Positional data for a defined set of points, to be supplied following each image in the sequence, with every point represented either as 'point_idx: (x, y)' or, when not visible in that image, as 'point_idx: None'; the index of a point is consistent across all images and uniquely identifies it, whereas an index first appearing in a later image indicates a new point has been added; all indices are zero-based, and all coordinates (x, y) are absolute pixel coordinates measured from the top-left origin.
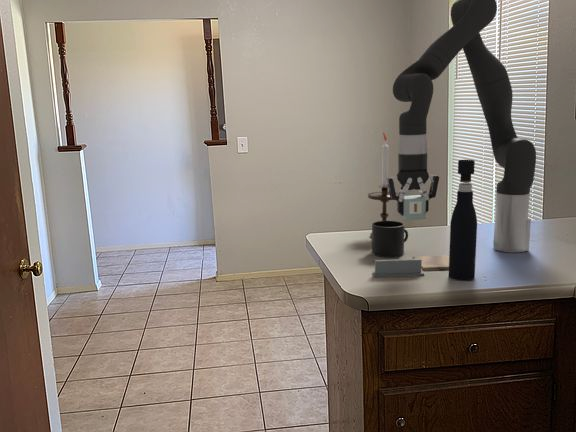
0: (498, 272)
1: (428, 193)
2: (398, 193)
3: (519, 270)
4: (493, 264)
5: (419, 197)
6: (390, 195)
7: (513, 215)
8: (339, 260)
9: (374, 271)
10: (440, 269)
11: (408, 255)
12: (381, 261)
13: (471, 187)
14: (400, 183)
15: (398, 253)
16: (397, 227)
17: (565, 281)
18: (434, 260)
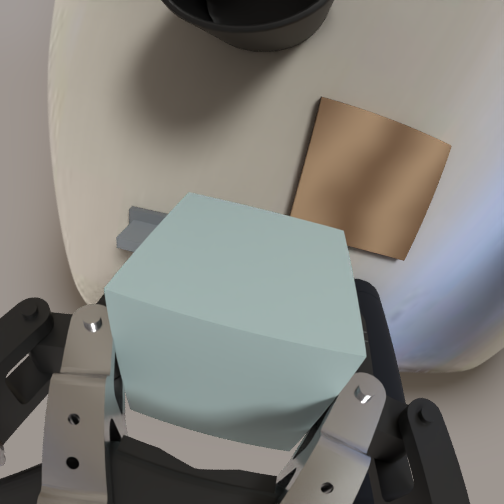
0: (445, 301)
1: (386, 437)
2: (64, 358)
3: (486, 302)
4: (487, 248)
5: (273, 421)
6: (15, 324)
7: None
8: (79, 58)
9: (134, 210)
10: None
11: (331, 46)
12: (132, 250)
13: None
14: (34, 469)
15: (282, 48)
16: (265, 30)
17: (476, 362)
18: (368, 175)
